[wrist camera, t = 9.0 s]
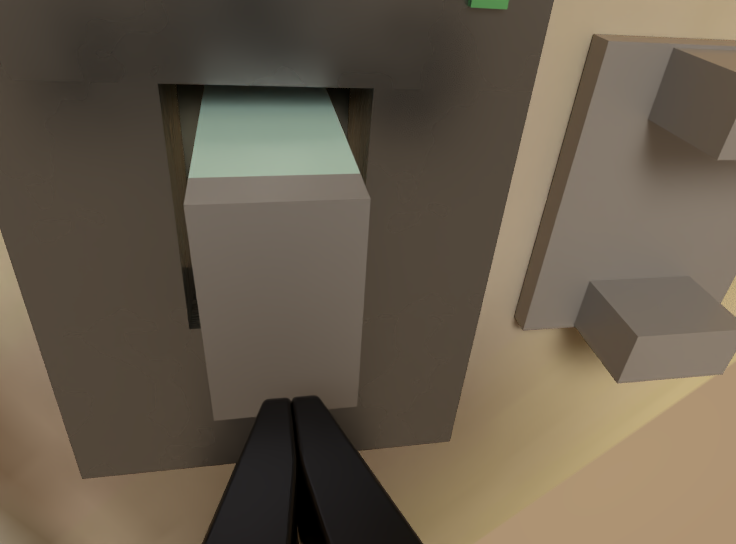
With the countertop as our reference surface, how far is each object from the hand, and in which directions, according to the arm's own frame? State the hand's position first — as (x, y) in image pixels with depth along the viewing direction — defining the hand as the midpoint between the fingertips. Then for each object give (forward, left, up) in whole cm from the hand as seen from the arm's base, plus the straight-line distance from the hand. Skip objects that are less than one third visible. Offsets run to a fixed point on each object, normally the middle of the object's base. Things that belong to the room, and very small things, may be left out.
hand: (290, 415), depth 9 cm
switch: (0, 0, -9) cm, 9 cm away
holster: (-1, -13, -9) cm, 16 cm away
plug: (0, 0, -9) cm, 9 cm away
